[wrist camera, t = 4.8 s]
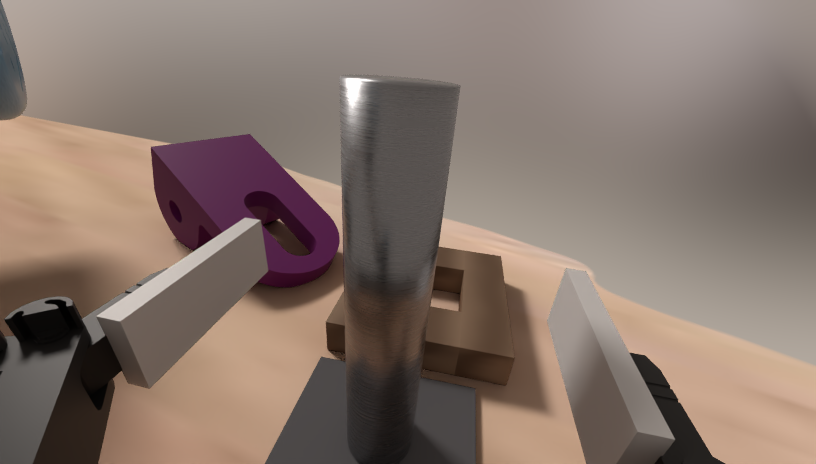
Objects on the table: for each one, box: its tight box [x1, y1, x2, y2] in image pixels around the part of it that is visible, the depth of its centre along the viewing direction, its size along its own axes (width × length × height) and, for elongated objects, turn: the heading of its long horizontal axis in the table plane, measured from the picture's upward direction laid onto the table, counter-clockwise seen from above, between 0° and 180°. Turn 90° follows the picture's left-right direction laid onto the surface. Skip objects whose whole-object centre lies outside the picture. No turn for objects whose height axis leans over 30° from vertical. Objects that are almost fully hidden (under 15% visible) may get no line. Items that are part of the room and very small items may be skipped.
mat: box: [265, 357, 476, 464], centre depth 17 cm, size 10×8×1 cm
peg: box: [339, 75, 460, 464], centre depth 13 cm, size 3×3×17 cm
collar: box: [326, 247, 515, 385], centre depth 26 cm, size 12×12×2 cm
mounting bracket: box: [151, 134, 339, 287], centre depth 33 cm, size 9×8×18 cm
